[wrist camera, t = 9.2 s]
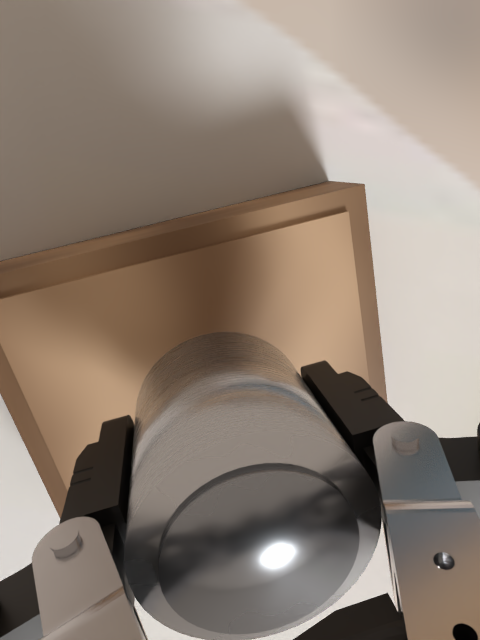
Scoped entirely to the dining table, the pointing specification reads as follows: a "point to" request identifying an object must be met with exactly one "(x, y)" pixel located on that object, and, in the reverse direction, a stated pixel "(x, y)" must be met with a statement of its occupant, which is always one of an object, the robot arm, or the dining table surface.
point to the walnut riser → (181, 309)
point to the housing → (241, 494)
